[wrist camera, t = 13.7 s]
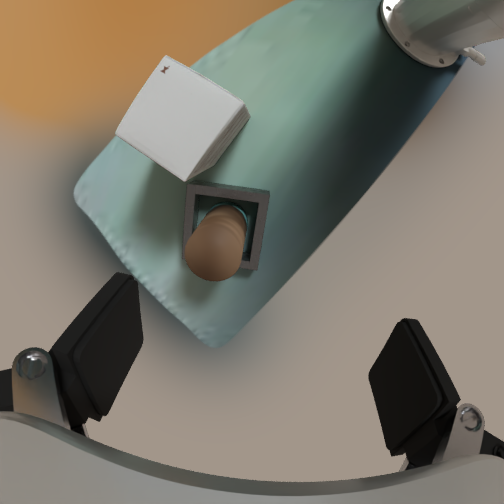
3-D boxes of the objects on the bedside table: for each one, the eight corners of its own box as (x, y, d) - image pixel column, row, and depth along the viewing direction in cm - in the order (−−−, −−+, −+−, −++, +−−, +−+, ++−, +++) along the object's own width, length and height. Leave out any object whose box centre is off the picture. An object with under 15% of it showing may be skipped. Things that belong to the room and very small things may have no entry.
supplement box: (164, 133, 29) (110, 133, 17) (202, 82, 26) (165, 51, 15) (214, 167, 30) (183, 185, 19) (253, 117, 28) (247, 100, 16)
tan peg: (250, 204, 32) (245, 232, 23) (244, 244, 34) (237, 285, 25) (208, 199, 32) (186, 224, 23) (204, 238, 34) (183, 276, 25)
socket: (269, 190, 31) (269, 195, 29) (257, 261, 35) (257, 270, 32) (192, 180, 31) (187, 183, 29) (187, 250, 35) (182, 258, 32)
